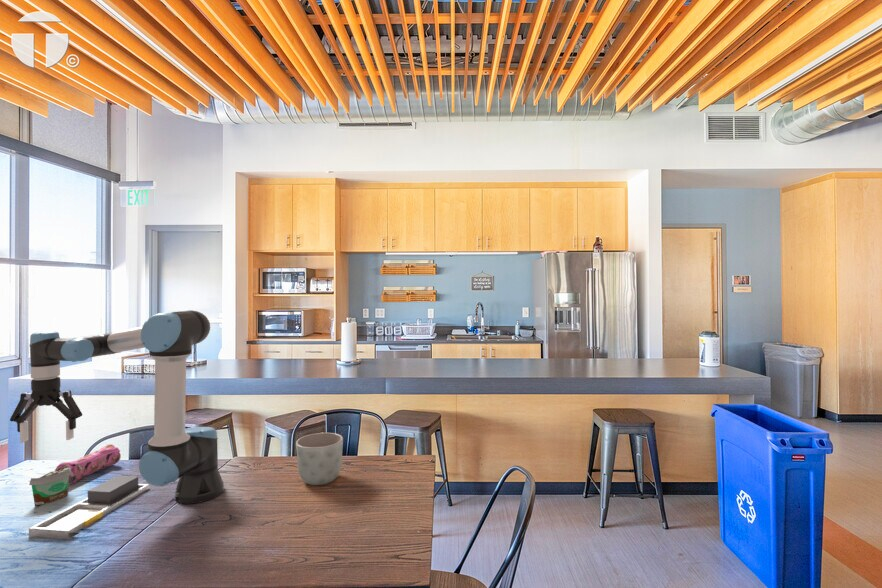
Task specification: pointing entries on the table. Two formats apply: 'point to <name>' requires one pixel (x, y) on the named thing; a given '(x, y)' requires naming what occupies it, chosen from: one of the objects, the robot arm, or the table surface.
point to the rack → (78, 517)
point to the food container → (50, 486)
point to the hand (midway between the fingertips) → (47, 440)
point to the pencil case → (91, 463)
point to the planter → (319, 457)
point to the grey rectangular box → (113, 490)
